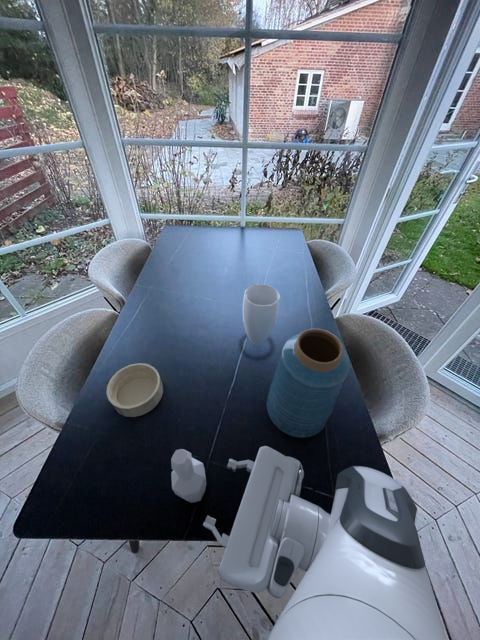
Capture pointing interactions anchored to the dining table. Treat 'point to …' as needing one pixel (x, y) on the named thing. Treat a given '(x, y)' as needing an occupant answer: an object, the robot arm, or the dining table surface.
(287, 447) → the dining table surface
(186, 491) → the faceted bottle
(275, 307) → the cup
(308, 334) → the vase
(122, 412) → the bowl
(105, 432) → the dining table surface
